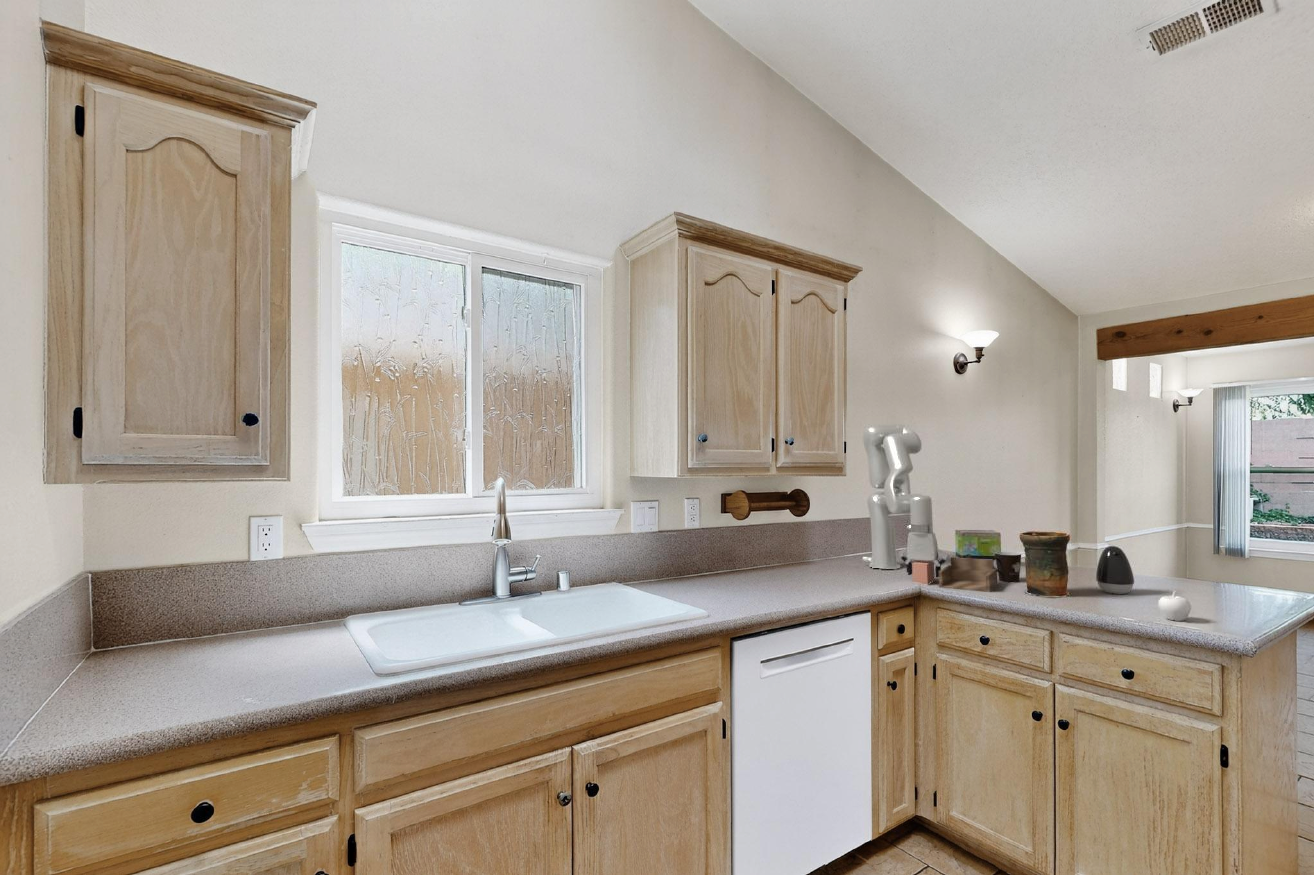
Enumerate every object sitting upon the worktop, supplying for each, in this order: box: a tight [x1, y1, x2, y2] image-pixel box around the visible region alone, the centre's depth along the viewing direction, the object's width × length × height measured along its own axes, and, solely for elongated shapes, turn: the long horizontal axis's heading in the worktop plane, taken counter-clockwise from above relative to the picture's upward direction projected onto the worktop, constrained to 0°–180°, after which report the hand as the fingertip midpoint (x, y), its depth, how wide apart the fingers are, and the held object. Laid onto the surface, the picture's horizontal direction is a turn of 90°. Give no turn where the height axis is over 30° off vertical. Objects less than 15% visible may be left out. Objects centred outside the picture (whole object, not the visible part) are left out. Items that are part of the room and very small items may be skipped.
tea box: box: [954, 529, 1002, 569], centre depth 263 cm, size 15×10×15 cm
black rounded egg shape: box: [1095, 545, 1135, 595], centre depth 208 cm, size 10×10×15 cm
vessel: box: [1019, 530, 1071, 598], centre depth 209 cm, size 14×14×20 cm
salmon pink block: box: [911, 560, 936, 585], centre depth 234 cm, size 5×10×8 cm, turn 143°
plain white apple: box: [1157, 590, 1192, 622], centre depth 173 cm, size 7×7×8 cm
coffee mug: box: [992, 551, 1022, 583], centre depth 232 cm, size 12×9×10 cm
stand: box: [938, 557, 999, 593], centre depth 224 cm, size 16×15×9 cm
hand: (923, 575), depth 233 cm, fingers open, 9 cm apart
